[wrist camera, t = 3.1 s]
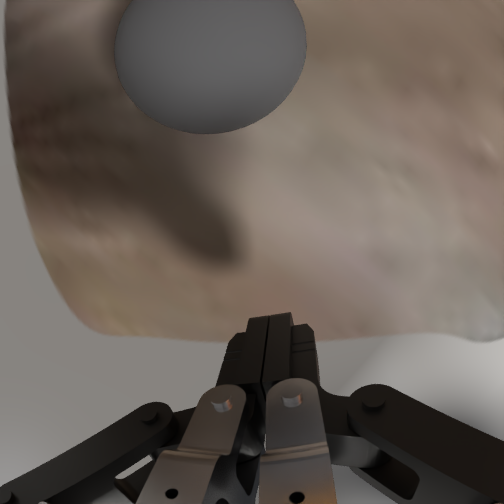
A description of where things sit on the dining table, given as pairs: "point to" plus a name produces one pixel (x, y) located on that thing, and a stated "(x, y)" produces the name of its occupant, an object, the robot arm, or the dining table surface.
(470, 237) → the dining table surface
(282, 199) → the dining table surface
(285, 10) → the gray ball
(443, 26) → the dining table surface
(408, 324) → the dining table surface
